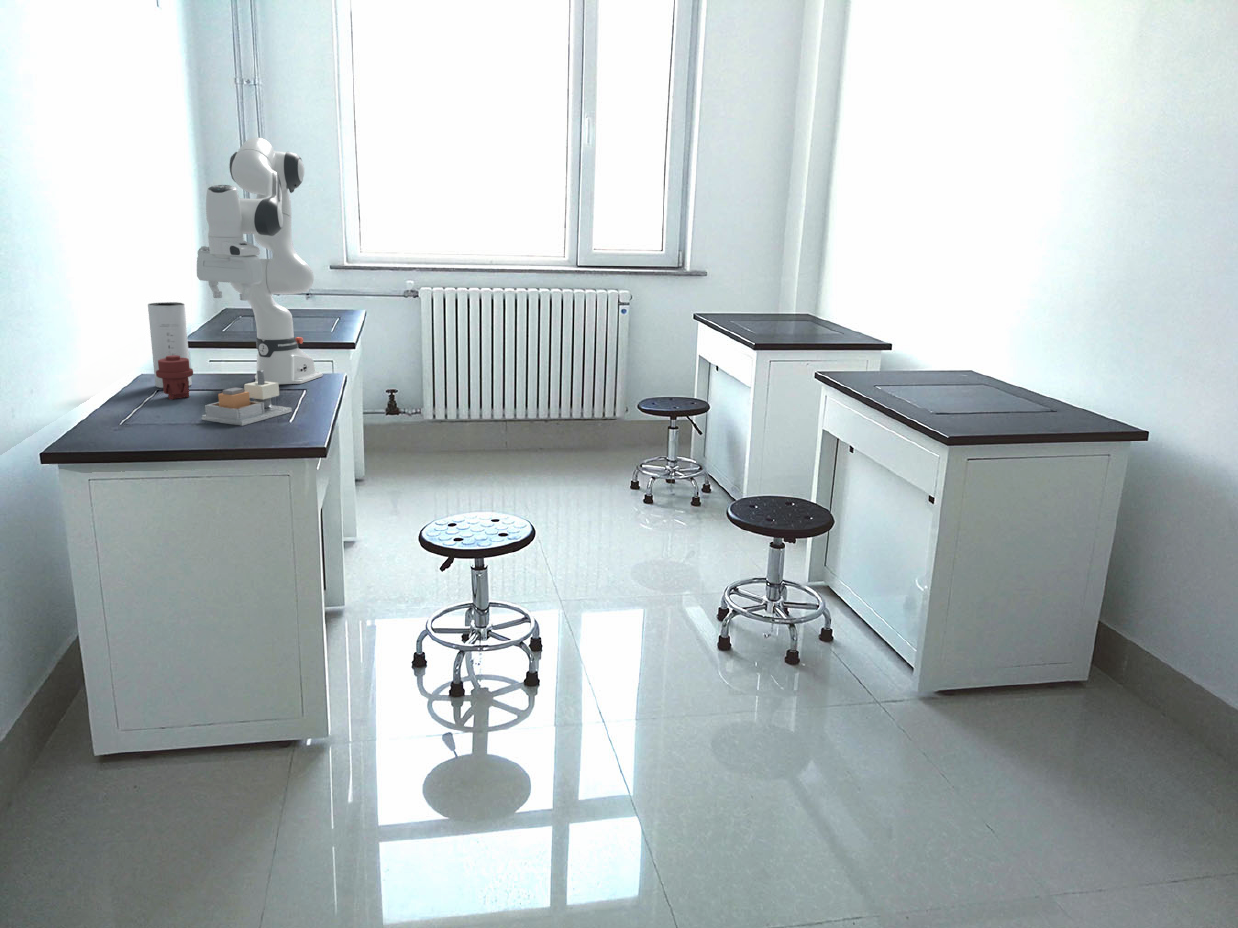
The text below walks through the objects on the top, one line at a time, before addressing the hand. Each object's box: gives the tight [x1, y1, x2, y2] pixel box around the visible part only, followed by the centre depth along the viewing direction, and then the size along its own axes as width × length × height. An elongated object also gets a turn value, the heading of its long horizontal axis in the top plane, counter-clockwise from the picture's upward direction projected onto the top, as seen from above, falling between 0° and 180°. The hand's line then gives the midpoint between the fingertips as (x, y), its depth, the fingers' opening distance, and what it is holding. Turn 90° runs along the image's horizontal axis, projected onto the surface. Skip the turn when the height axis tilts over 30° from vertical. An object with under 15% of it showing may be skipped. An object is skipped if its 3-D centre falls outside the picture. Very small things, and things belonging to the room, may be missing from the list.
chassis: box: [201, 370, 293, 427], centre depth 266 cm, size 19×14×12 cm
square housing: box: [243, 381, 280, 399], centre depth 271 cm, size 6×6×4 cm
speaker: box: [147, 301, 192, 389], centre depth 300 cm, size 11×10×26 cm
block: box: [217, 386, 251, 409], centre depth 262 cm, size 5×6×7 cm
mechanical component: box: [156, 355, 194, 400], centre depth 286 cm, size 12×10×10 cm
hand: (231, 299), depth 265 cm, fingers open, 8 cm apart
